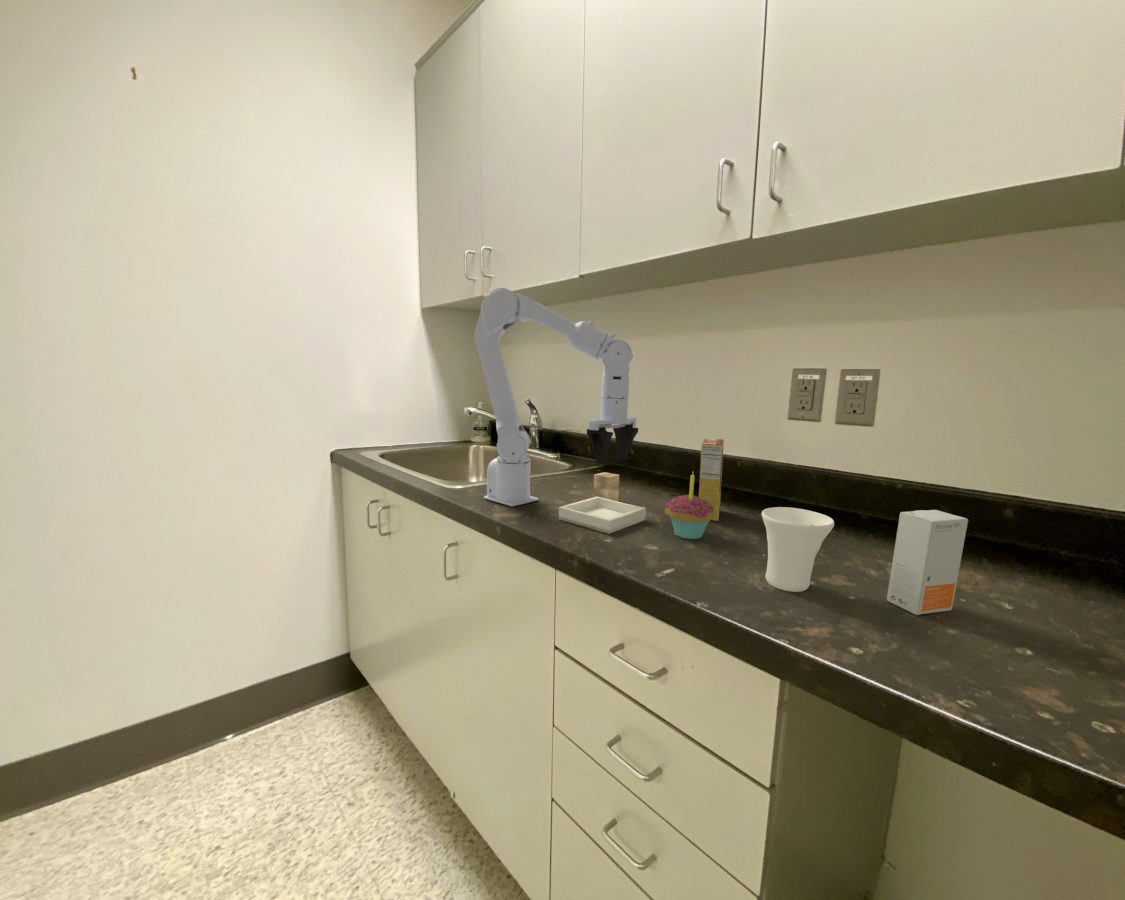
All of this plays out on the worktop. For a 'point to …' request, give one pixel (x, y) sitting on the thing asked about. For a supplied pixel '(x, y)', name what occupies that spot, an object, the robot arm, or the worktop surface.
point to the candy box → (711, 473)
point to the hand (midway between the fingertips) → (611, 461)
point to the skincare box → (926, 561)
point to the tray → (602, 514)
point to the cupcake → (689, 514)
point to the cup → (793, 545)
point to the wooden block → (606, 486)
